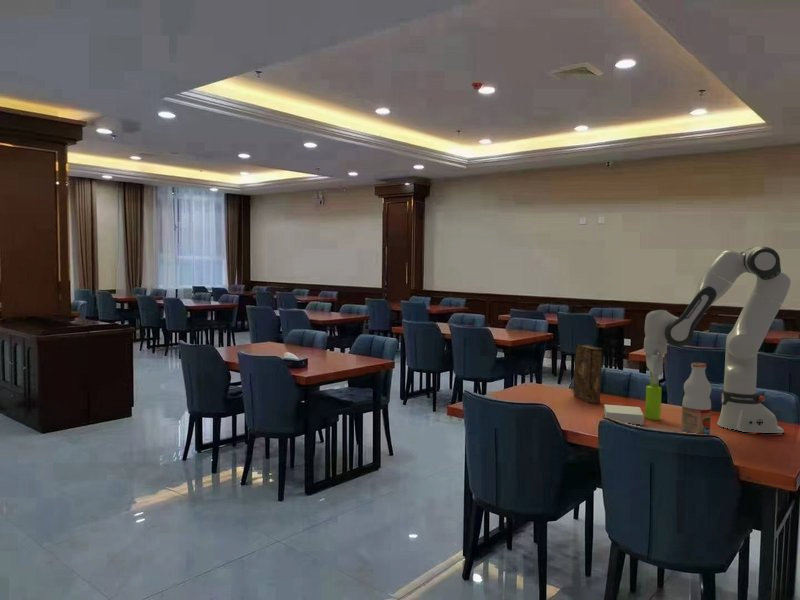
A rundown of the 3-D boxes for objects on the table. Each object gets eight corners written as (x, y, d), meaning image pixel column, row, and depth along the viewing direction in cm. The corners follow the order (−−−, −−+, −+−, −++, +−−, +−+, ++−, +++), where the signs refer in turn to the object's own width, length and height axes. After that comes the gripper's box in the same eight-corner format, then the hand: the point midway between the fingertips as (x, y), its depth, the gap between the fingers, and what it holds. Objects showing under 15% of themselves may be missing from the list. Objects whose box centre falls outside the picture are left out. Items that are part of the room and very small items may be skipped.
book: (601, 403, 272) (603, 349, 270) (590, 403, 271) (592, 349, 269) (584, 395, 288) (586, 344, 286) (573, 395, 287) (575, 344, 285)
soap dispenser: (655, 415, 251) (657, 368, 250) (662, 419, 244) (665, 371, 243) (641, 415, 251) (643, 368, 249) (648, 419, 244) (651, 371, 242)
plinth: (639, 416, 249) (639, 407, 248) (643, 425, 235) (643, 415, 235) (603, 413, 252) (604, 404, 252) (606, 421, 239) (606, 412, 239)
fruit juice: (680, 434, 224) (683, 360, 222) (708, 437, 220) (712, 362, 218) (681, 440, 215) (685, 364, 213) (710, 444, 211) (714, 366, 210)
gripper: (667, 352, 235) (666, 387, 236) (659, 346, 254) (658, 377, 255) (650, 351, 236) (648, 386, 237) (643, 345, 256) (642, 376, 257)
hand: (653, 381), depth 246 cm, fingers closed on soap dispenser, 4 cm apart
